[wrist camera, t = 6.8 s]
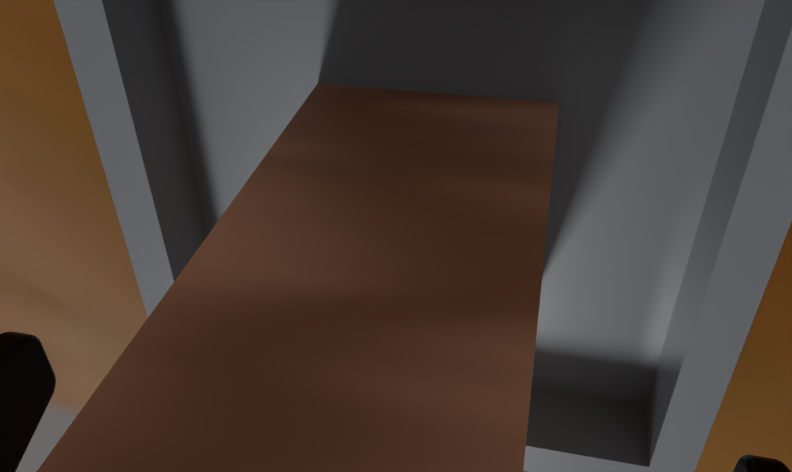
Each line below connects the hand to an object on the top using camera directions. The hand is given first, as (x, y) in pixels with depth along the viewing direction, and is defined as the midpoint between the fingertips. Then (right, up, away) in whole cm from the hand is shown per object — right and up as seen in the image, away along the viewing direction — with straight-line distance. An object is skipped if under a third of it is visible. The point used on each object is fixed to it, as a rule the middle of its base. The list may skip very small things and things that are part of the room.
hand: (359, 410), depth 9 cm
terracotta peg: (+1, +3, +4) cm, 5 cm away
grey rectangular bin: (+1, +4, +5) cm, 6 cm away
